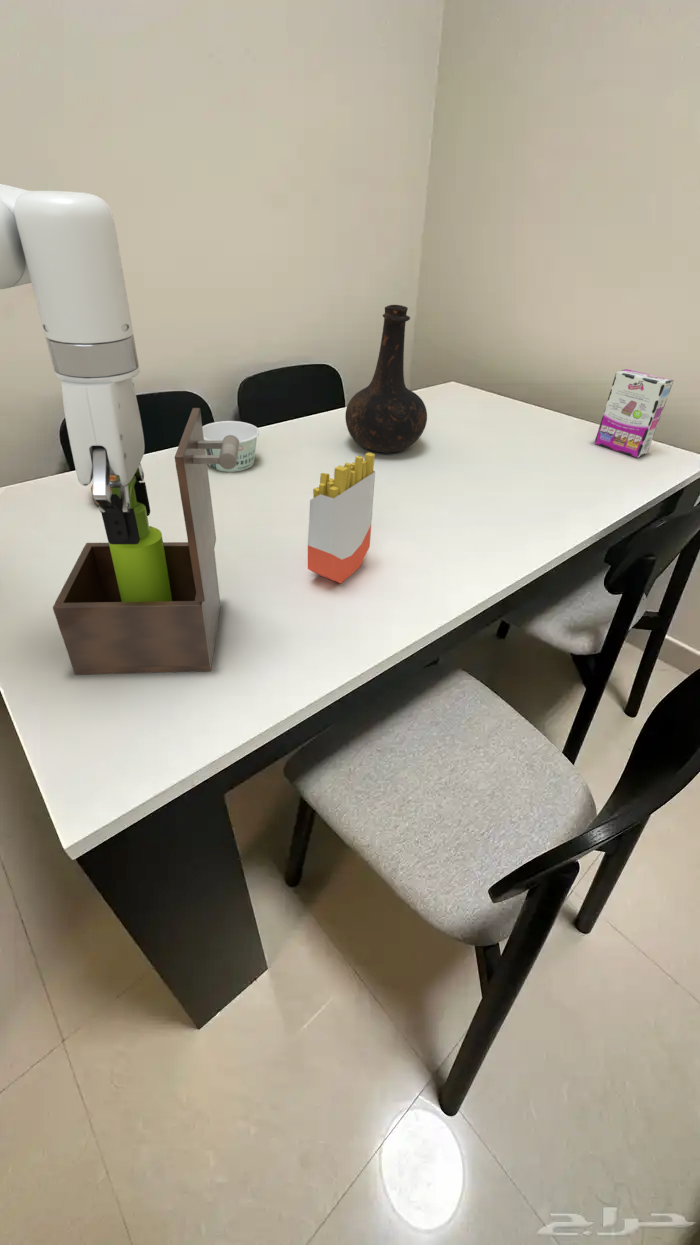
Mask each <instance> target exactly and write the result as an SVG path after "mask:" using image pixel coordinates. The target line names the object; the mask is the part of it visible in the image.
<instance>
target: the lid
mask: <svg viewBox="0 0 700 1245" xmlns="http://www.w3.org/2000/svg"><path fill="white" fill-rule="evenodd" d="M201 413H202V412H201V408H200V407H192V409H191V412H190V414H189V418H188V420H187V423H186V425H185V427H184V431H183V433H182V436H181V439H180V442H179V443H178V446H177V449H176V452H175V454H174V463H175V468H176V474H177V481H178V488H179V494H180V500H181V506H182V513H183V520H184V526H185V531H186V538H187V542H188V545H189V551H190V557H191V563H192V570H193V576H194V582H195V589H196V595H197V601H198V602H205V598H206V592H207V587H208V581H209V576H210V570H211V565H212V559H213V554H214V552H215V548H216V542H217V534H216V526H215V516H214V510H213V500H212V495H211V486H210V480H209V479H210V478H209V469H208V465H209V464H220V466H221V467H223V468H224V469H232V468H234V467H235V466H236V463H237V457H238V451H239V440H238V438H237V437H235V436H233V435H227V436H225V437H224V439H223V441H204V437H203V428H202V427H203V422H202V414H201ZM205 449H221V451H220V455H206V453H205Z"/></svg>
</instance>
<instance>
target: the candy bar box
mask: <svg viewBox="0 0 700 1245" xmlns="http://www.w3.org/2000/svg"><path fill="white" fill-rule="evenodd" d="M674 382H675V380H674V379H670V378H665V377H662V376H658V375H653V374H649V373H646V372H645V373H644V372H640V371H636V370H632V369H627V368H626V369H621V370H618V371H616V372H615V374H614V378H613V381H612V385H611V387H610V392H609V395H608V399H607V401H606V404H605V407H604V411H603V414H602V417H601V420H600V423H599V427H598V430H597V433H596V437H595V440H594V445H598V446H600V447H603V448H606V449H609V450H612V451H615V452H618V453H621V454H624V455H627V456H630V457H633V458H637V459H638V458H640V457H643V456H645V455H647V454H648V452H649V449H650V447H651V444H652V440H653V438H654V436H655V433H656V430H657V427H658V425H659V423H660V420H661V416H662V414H663V411H664V409H665V406H666V403H667V400H668V398H669V395H670V392H671V389H672V386H673V384H674Z"/></svg>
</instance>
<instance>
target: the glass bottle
mask: <svg viewBox="0 0 700 1245" xmlns="http://www.w3.org/2000/svg"><path fill="white" fill-rule="evenodd" d="M408 309H409V308H408V307H407V306H405V305H401V304H389V305H386V306H385V307H384V313H383V314H382V318H383V326H382V335H381V339H380V347H379V352H378V357H377V361H376V365H375V370H374V373H373V376H372V379H371V380H370V382H369V385H368V386H366V387H364V388H362V389H361V390H359V391H357V392H356V393H355V394H354V395H353V396H351V398H350V399H349V401H348V403H347V405H346V408H345V425H346V428H347V431H348V433H349V436H351V438H352V439H353V441H354V442H355V443H356V444H357V445H358V446H360V447H361V448H363V449H365V450H368V451H369V452H376V453H383V454H384V453H385V454H386V453H388V454H391V453H398V452H402V451H404V450H406V449H408V448H409V447H411V446H412V445H413V444H415V443H417V441H418V440H419V439H420V438H421V437H422V434H423V433H424V431H425V428H426V425H427V422H428V412H427V407H426V405H425V403H424V401H423V399H422V398H421V396H419V395H418V394H417V393H416V392H414V391H413V390H411V389H408V388H407V386H406V383H405V382H406V381H405V374H404V373H405V372H404V370H405V369H404V368H405V366H404V364H405V363H404V359H405V357H404V356H405V355H404V354H405V337H406V322H409V320H410V319H411V317H410V316H409V315H407V314H408V313H407V312H408Z"/></svg>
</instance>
